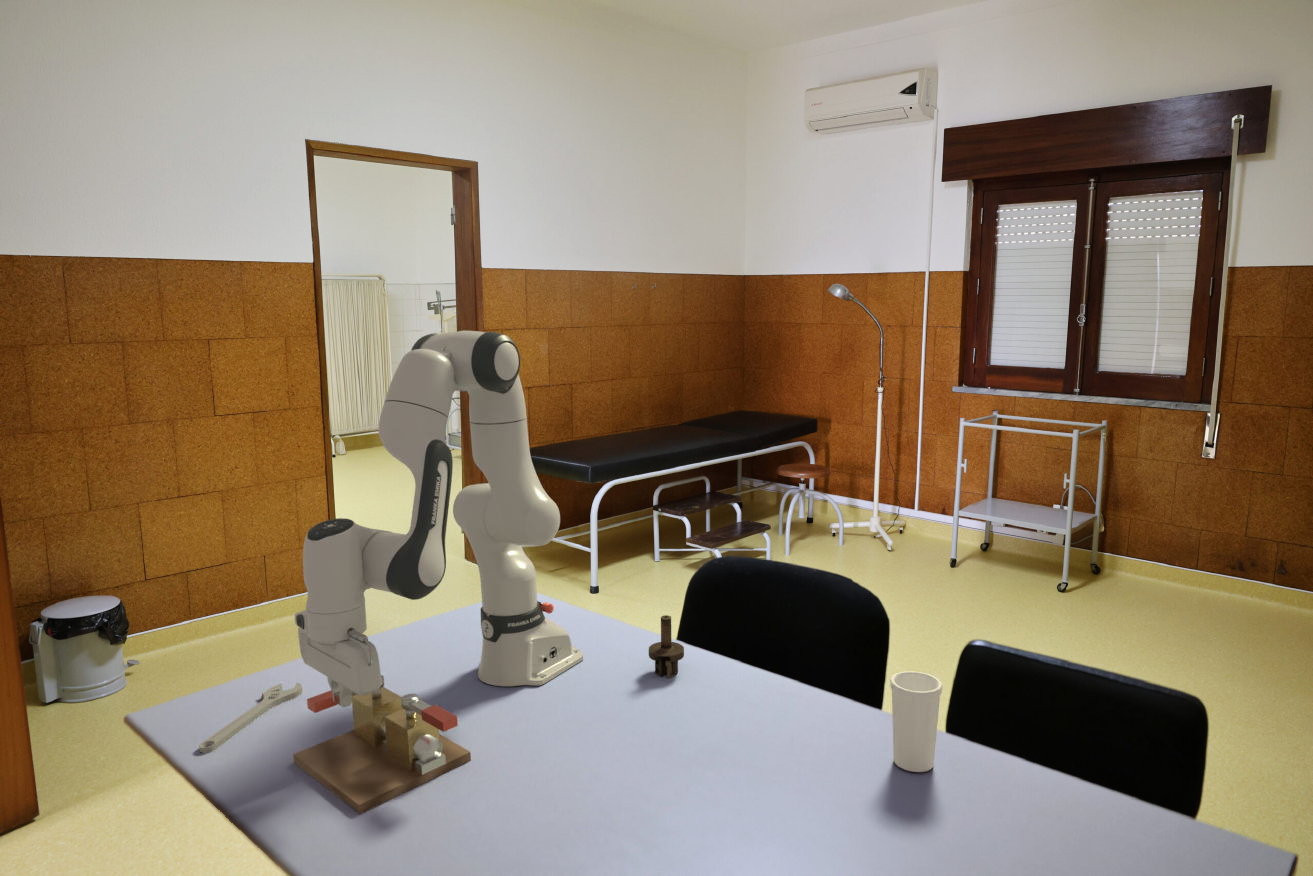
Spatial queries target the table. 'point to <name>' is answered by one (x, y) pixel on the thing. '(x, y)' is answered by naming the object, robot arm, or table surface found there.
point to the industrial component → (666, 651)
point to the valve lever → (326, 700)
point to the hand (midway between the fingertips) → (342, 703)
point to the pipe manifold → (403, 727)
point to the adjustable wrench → (251, 715)
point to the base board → (368, 769)
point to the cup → (915, 719)
